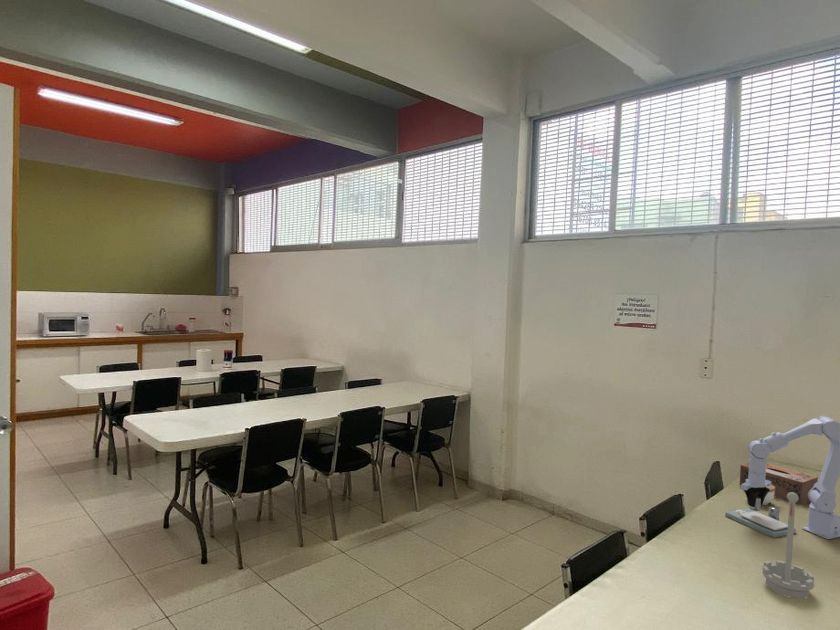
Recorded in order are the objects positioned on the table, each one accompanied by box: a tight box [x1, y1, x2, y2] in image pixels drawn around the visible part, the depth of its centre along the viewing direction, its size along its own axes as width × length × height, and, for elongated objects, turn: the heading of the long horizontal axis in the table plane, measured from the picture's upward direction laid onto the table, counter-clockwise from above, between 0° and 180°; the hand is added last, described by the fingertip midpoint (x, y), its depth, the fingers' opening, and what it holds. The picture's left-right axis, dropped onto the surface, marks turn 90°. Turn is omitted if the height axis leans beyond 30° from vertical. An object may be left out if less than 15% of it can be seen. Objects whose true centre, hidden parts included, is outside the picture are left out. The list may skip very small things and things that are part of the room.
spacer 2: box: [767, 506, 780, 521], centre depth 212 cm, size 4×4×5 cm
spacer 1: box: [749, 496, 762, 512], centre depth 210 cm, size 4×4×5 cm
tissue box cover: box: [739, 462, 819, 505], centre depth 244 cm, size 26×14×10 cm, turn 32°
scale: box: [724, 507, 797, 539], centre depth 209 cm, size 20×12×3 cm, turn 22°
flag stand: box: [762, 492, 815, 599], centre depth 163 cm, size 13×13×30 cm
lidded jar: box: [762, 485, 775, 506], centre depth 231 cm, size 11×11×9 cm
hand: (755, 505), depth 210 cm, fingers closed on spacer 1, 3 cm apart
